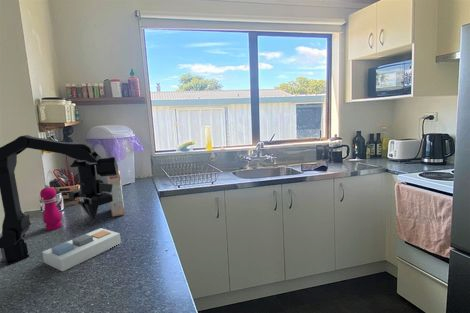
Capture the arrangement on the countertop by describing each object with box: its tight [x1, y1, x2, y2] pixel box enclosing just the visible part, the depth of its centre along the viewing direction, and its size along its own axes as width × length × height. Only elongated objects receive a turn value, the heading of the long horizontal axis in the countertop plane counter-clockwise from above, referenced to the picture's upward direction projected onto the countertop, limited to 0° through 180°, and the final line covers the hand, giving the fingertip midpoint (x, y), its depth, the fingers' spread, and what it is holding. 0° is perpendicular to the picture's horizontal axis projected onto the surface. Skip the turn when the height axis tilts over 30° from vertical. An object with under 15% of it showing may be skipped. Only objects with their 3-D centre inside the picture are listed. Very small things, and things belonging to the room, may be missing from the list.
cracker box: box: [106, 168, 125, 218], centre depth 148 cm, size 14×6×21 cm, turn 22°
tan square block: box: [91, 230, 110, 239], centre depth 113 cm, size 5×5×3 cm
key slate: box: [50, 241, 74, 256], centre depth 102 cm, size 5×5×3 cm
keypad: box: [41, 227, 122, 272], centre depth 108 cm, size 22×12×4 cm, turn 147°
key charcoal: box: [71, 233, 93, 247], centre depth 107 cm, size 5×5×3 cm
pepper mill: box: [39, 183, 63, 231], centre depth 133 cm, size 7×7×20 cm
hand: (93, 219), depth 110 cm, fingers closed
